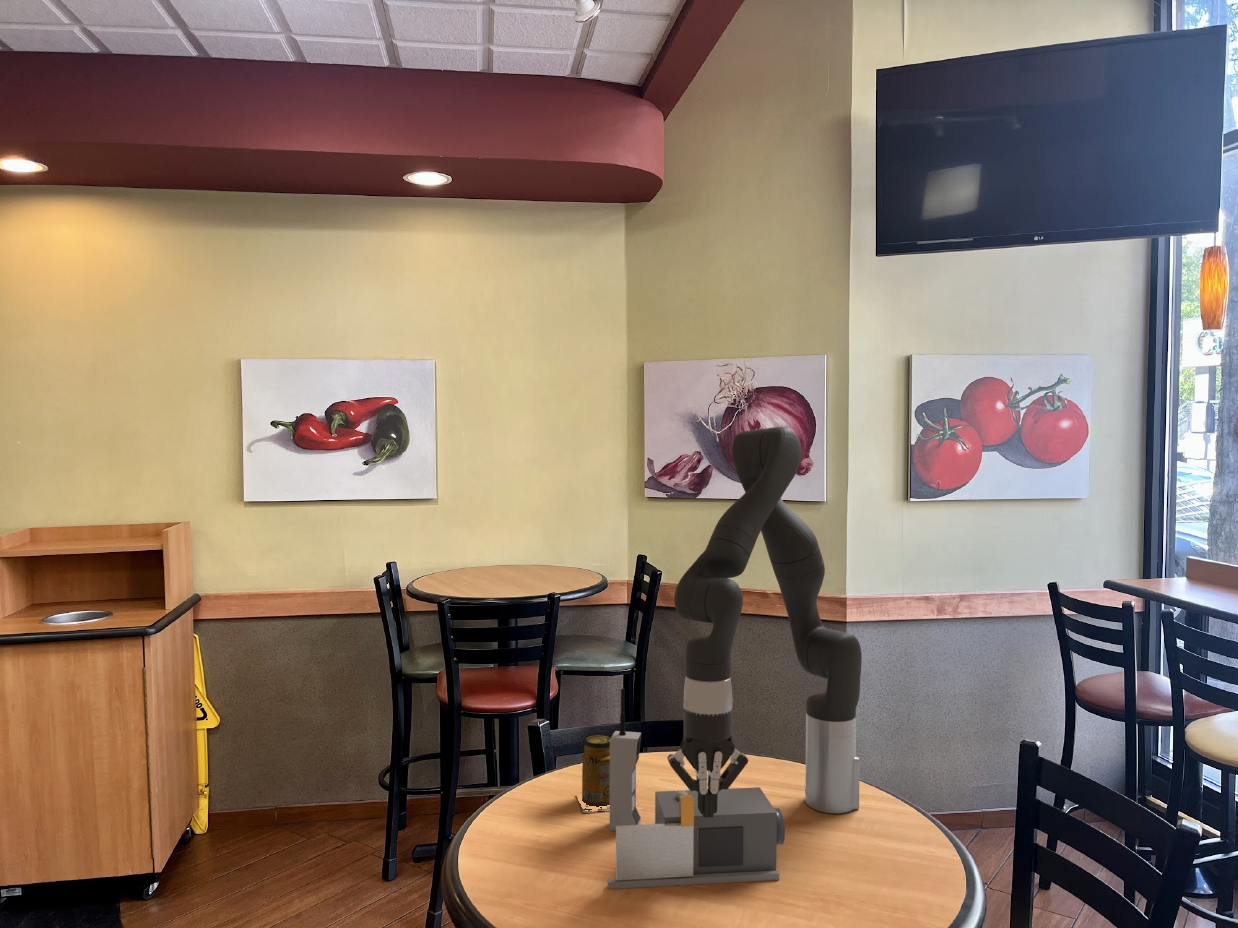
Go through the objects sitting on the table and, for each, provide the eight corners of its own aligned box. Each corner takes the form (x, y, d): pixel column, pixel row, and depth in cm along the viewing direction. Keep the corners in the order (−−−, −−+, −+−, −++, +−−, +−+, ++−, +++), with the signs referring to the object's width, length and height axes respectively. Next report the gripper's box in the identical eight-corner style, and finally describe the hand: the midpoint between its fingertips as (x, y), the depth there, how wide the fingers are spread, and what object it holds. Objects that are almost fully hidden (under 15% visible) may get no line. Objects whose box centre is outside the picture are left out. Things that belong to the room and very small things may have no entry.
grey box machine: (770, 844, 145) (771, 782, 145) (791, 879, 133) (792, 811, 133) (601, 852, 142) (602, 788, 142) (608, 888, 130) (608, 819, 130)
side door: (691, 871, 133) (692, 794, 133) (693, 876, 131) (694, 798, 131) (615, 875, 132) (615, 797, 131) (616, 880, 130) (616, 802, 130)
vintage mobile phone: (637, 833, 149) (637, 692, 148) (609, 830, 150) (609, 690, 149) (640, 824, 153) (641, 686, 152) (613, 821, 154) (614, 684, 153)
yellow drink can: (611, 792, 167) (612, 732, 166) (621, 810, 158) (621, 746, 158) (575, 795, 165) (575, 734, 165) (582, 814, 157) (583, 749, 157)
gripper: (743, 696, 136) (742, 803, 137) (662, 698, 135) (661, 806, 135) (756, 710, 129) (755, 823, 129) (670, 713, 127) (669, 827, 128)
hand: (707, 815), depth 132 cm, fingers closed
